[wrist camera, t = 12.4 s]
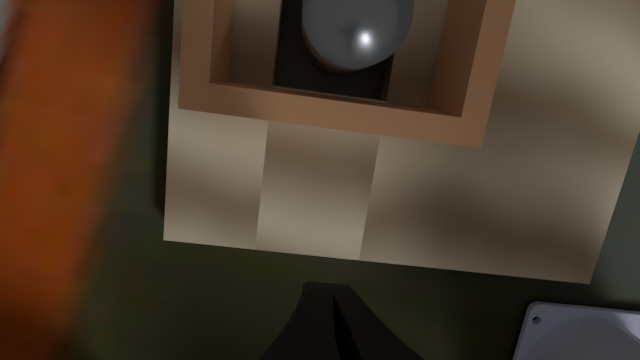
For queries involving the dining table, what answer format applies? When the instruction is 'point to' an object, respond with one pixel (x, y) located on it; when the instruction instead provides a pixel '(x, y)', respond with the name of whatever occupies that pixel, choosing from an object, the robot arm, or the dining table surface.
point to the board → (419, 149)
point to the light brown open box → (351, 114)
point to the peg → (353, 32)
